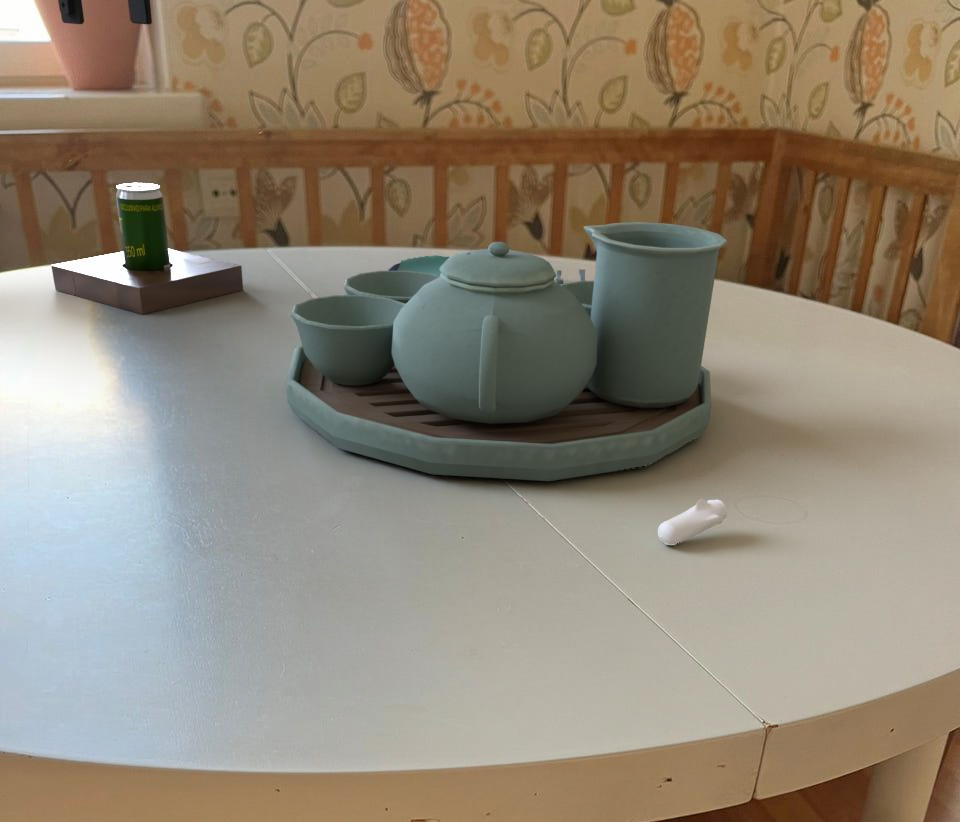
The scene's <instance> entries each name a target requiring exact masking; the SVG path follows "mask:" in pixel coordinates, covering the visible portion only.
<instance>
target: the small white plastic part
mask: <svg viewBox="0 0 960 822" xmlns="http://www.w3.org/2000/svg"><path fill="white" fill-rule="evenodd" d="M727 516H728V510H727V507H726V505H725V503H724V502H723V501H722V500H720V499H708V500H707V501H706V499H705V498H702V497H701V498H699V499H697V502H696V503H695V505H693V506H691V507H690V508H688V509H687V510H686V511H683V512H682V513H681V512H680V513H679V514H678V515H675V516H673V517H671V518H669V519H667V520H665V521H662V522H661V523H660V524H659V526H658V528H657V536H658V538H656V539H655V541H658V540H659V541H660V540H661V541H663V542H666V543H668V544H677V543H678V544H680V543H682V542H684V541H686V540H688V538H689V539H690V538H693V537H695V536H697V535H699V534H701V533H703V532H704V531H707V530H709V529H711V528H713V527H715V526H717V525H720V524H722V523H723V521H724V520H725V519H726V518H727ZM661 541H660V542H661ZM679 542H680V543H679ZM678 544H677V545H678Z"/></svg>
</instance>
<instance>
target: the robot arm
mask: <svg viewBox="0 0 960 822" xmlns="http://www.w3.org/2000/svg"><path fill="white" fill-rule="evenodd" d="M57 3H58V8H59V12H60V17H61V22H62V23H64V24H69V25H83V24H84V23H85V16H84V9H83V1H82V0H57ZM127 5H128V14H129V20H130V22H131V23H132V24H138V25H139V24H140V25H152V23H153V17H152V7H151V0H127Z"/></svg>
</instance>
